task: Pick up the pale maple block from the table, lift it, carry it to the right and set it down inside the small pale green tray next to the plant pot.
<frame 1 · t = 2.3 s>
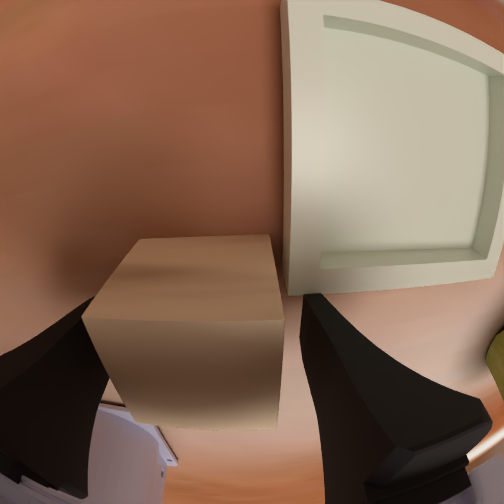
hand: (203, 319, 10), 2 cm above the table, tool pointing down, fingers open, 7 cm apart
maple block: (208, 291, 12), on the table
tray: (412, 147, 9), on the table
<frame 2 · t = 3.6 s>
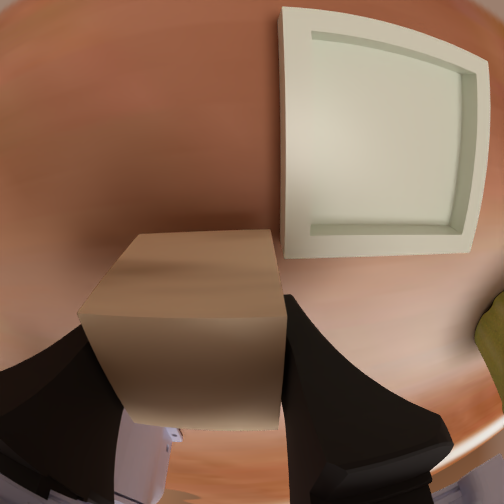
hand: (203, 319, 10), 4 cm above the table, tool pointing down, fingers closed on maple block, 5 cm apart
maple block: (208, 289, 11), point 2 cm above the table, touching gripper
tray: (389, 137, 11), on the table
plant pot: (497, 314, 17), on the table
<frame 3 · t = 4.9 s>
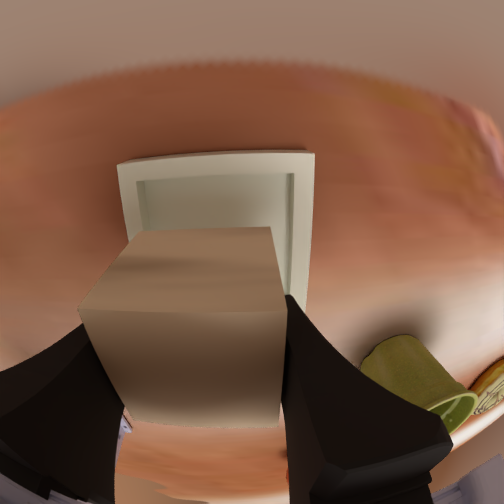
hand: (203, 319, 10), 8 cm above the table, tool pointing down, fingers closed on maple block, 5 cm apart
maple block: (208, 286, 12), point 6 cm above the table, touching gripper
tray: (220, 236, 17), on the table
decorated donut: (487, 378, 27), on the table
plant pot: (389, 356, 22), on the table
when the fingers open (3 cm above the table, at t = 6.1 s): maple block stays where it is, resting on tray.
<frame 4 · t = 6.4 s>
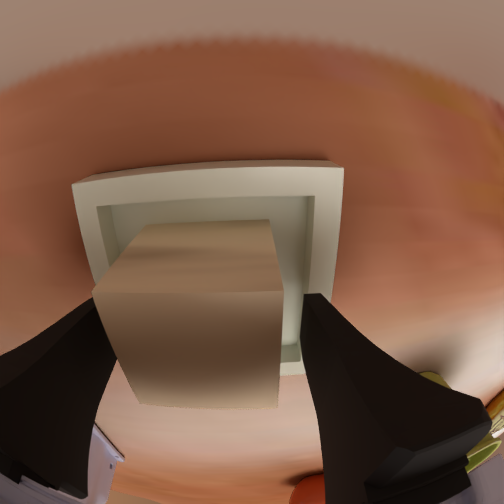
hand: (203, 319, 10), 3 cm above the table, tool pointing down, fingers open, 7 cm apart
maple block: (210, 276, 12), point 1 cm above the table, touching tray
tomato: (316, 476, 26), on the table
tray: (212, 274, 13), on the table
decorated donut: (500, 398, 23), on the table
plant pot: (407, 392, 18), on the table
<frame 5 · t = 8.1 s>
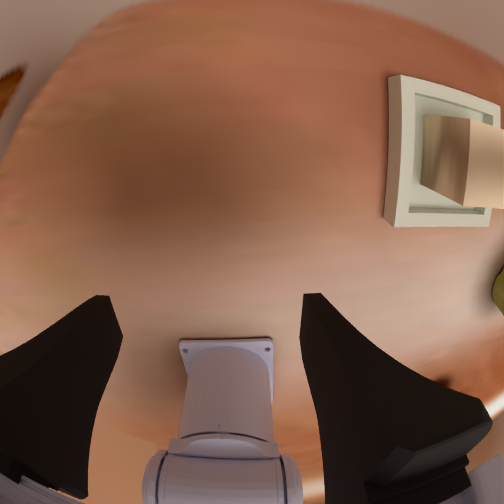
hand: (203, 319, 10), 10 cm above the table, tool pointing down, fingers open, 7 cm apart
maple block: (448, 153, 16), point 1 cm above the table, touching tray
tray: (443, 155, 17), on the table
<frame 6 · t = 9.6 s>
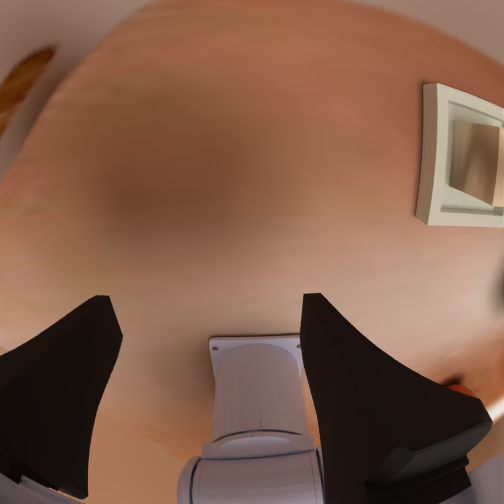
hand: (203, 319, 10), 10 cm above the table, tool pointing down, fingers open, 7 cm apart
maple block: (473, 158, 16), point 1 cm above the table, touching tray
tomato: (443, 392, 29), on the table
tray: (468, 159, 17), on the table
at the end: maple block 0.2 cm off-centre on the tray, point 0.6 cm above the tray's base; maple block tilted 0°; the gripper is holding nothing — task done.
